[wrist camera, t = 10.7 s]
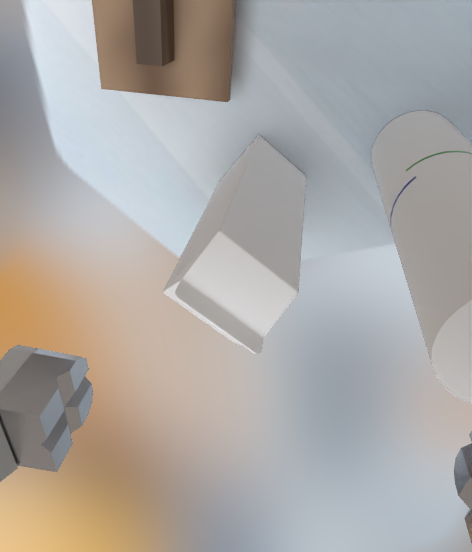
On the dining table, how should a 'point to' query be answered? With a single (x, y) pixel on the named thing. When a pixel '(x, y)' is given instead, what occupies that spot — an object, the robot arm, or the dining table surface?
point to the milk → (245, 248)
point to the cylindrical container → (432, 233)
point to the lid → (166, 46)
